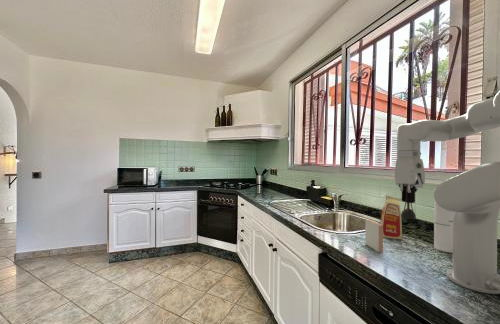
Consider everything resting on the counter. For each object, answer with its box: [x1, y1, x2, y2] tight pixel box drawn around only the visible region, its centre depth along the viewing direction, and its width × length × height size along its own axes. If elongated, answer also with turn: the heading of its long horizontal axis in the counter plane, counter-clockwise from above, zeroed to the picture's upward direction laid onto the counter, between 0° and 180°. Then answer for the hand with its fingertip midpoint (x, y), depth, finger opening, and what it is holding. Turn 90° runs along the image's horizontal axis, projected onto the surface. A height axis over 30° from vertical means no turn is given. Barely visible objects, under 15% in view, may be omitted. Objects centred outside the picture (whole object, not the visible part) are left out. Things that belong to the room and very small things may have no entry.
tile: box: [364, 218, 384, 253], centre depth 94 cm, size 9×2×11 cm, turn 5°
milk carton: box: [380, 194, 403, 240], centre depth 110 cm, size 9×9×20 cm
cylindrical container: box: [433, 188, 455, 254], centre depth 93 cm, size 7×7×25 cm
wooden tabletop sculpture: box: [401, 184, 417, 220], centre depth 87 cm, size 6×5×20 cm
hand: (408, 201), depth 87 cm, fingers closed on wooden tabletop sculpture, 1 cm apart
